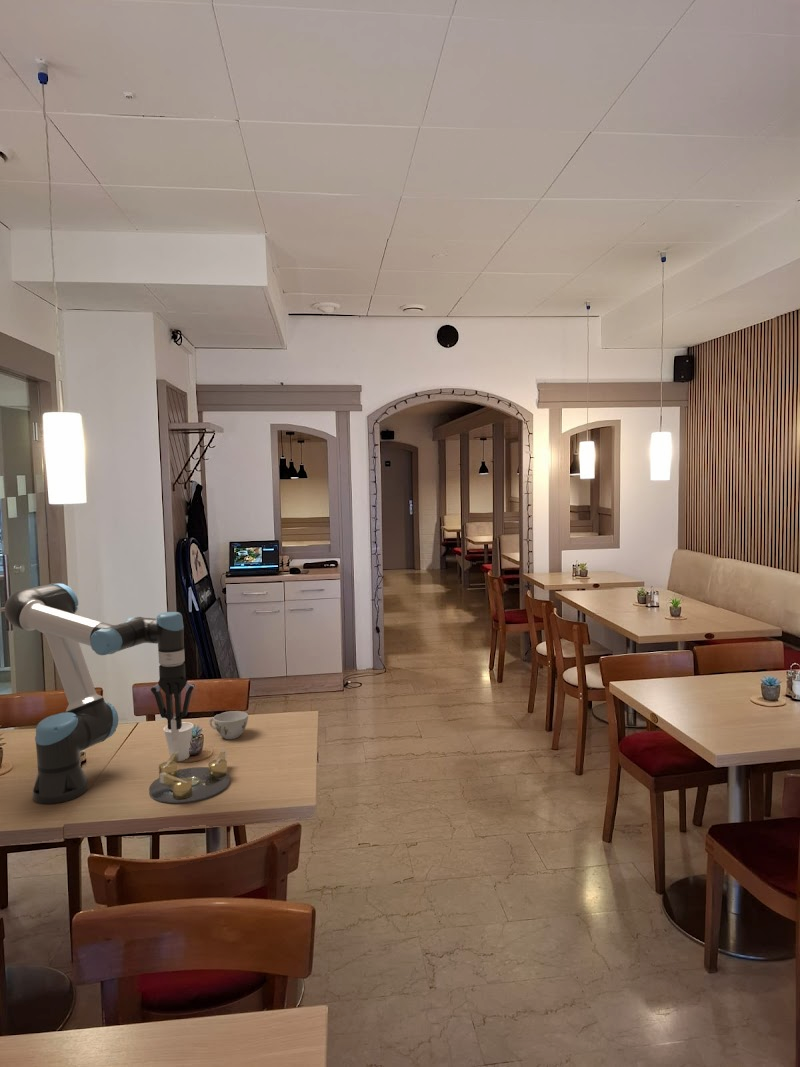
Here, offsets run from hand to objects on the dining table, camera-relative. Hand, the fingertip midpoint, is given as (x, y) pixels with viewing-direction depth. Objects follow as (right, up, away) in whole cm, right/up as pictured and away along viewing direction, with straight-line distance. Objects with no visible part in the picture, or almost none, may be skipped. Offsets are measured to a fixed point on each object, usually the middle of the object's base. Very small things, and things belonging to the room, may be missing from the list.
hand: (175, 739), depth 216 cm
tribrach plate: (+3, -16, +4) cm, 17 cm away
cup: (-7, -14, +26) cm, 31 cm away
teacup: (+5, -13, +46) cm, 48 cm away
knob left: (-5, -14, +11) cm, 19 cm away
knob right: (+11, -14, +12) cm, 21 cm away
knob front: (+1, -15, -3) cm, 15 cm away
